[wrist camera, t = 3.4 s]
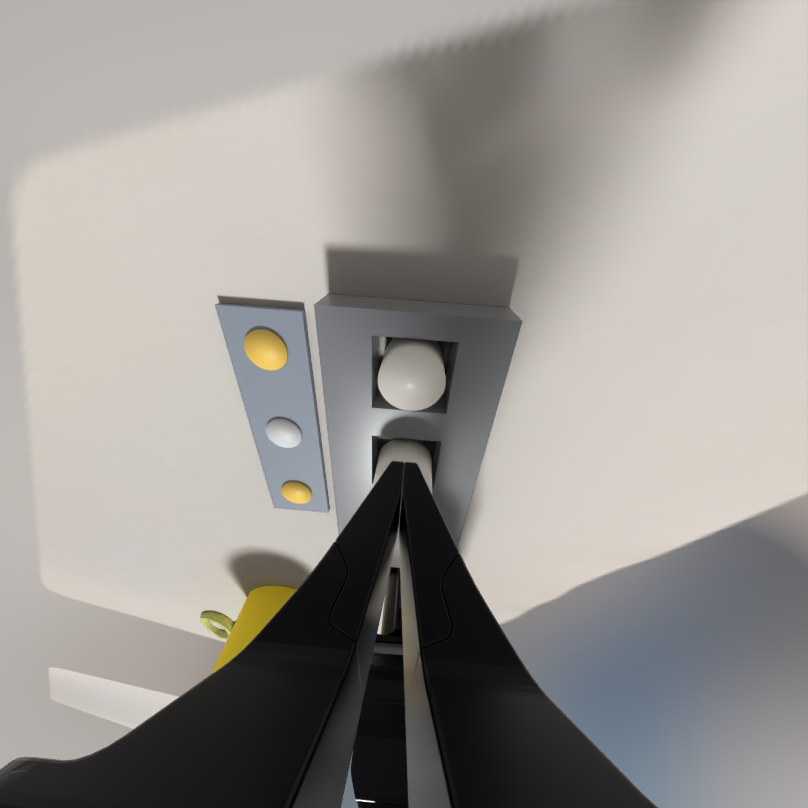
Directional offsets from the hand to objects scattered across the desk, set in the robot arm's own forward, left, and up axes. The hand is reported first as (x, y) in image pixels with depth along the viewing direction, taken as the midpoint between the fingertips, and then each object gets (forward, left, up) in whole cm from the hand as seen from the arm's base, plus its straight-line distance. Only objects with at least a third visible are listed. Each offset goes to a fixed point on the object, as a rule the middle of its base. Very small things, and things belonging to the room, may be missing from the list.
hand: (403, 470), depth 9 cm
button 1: (0, 0, -10) cm, 10 cm away
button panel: (-7, 0, -10) cm, 12 cm away
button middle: (-7, 0, -8) cm, 10 cm away
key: (-45, +22, -10) cm, 51 cm away
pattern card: (-7, +9, -10) cm, 15 cm away
